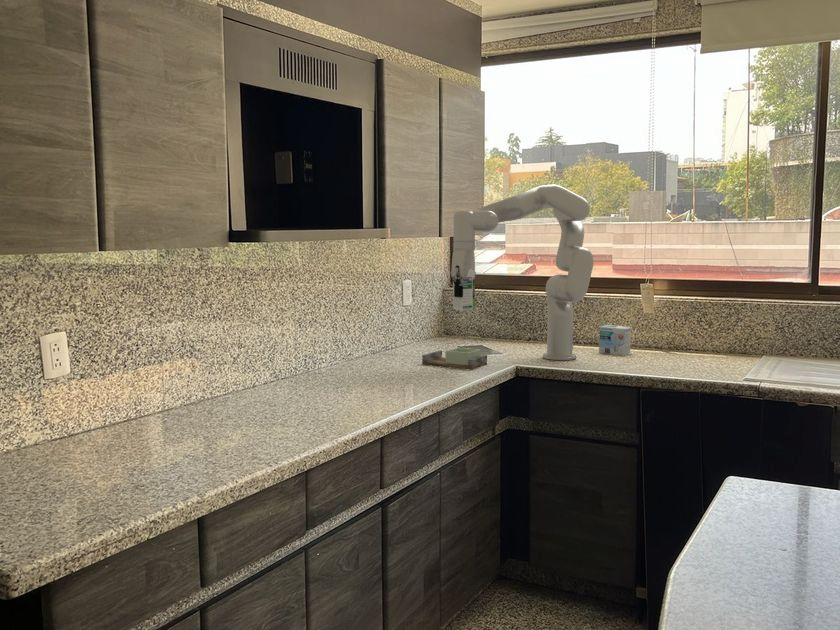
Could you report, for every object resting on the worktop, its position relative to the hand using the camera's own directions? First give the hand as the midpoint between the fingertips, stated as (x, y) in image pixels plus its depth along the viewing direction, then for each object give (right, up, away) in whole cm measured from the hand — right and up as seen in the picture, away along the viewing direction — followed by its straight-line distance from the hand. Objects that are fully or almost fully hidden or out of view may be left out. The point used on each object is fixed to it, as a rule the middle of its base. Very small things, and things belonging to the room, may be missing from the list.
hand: (463, 295), depth 272 cm
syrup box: (0, -5, +1) cm, 5 cm away
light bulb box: (+61, -22, +29) cm, 71 cm away
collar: (0, -24, +3) cm, 24 cm away
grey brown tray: (-3, -25, +5) cm, 25 cm away
